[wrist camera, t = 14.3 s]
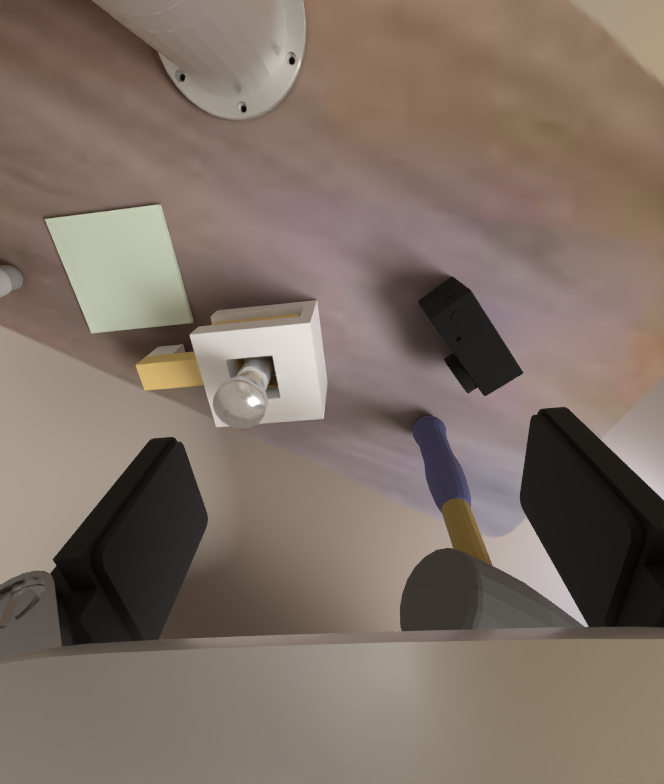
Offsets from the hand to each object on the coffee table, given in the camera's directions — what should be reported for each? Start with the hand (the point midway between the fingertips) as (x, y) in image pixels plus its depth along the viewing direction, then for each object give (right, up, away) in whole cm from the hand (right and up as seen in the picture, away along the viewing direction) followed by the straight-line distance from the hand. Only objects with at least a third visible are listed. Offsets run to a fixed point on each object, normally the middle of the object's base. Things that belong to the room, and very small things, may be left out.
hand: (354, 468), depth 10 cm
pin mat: (-23, +15, +31) cm, 41 cm away
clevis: (-11, +7, +34) cm, 37 cm away
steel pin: (-8, +7, +34) cm, 36 cm away
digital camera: (+13, +9, +32) cm, 36 cm away
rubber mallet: (+11, -2, +38) cm, 40 cm away
